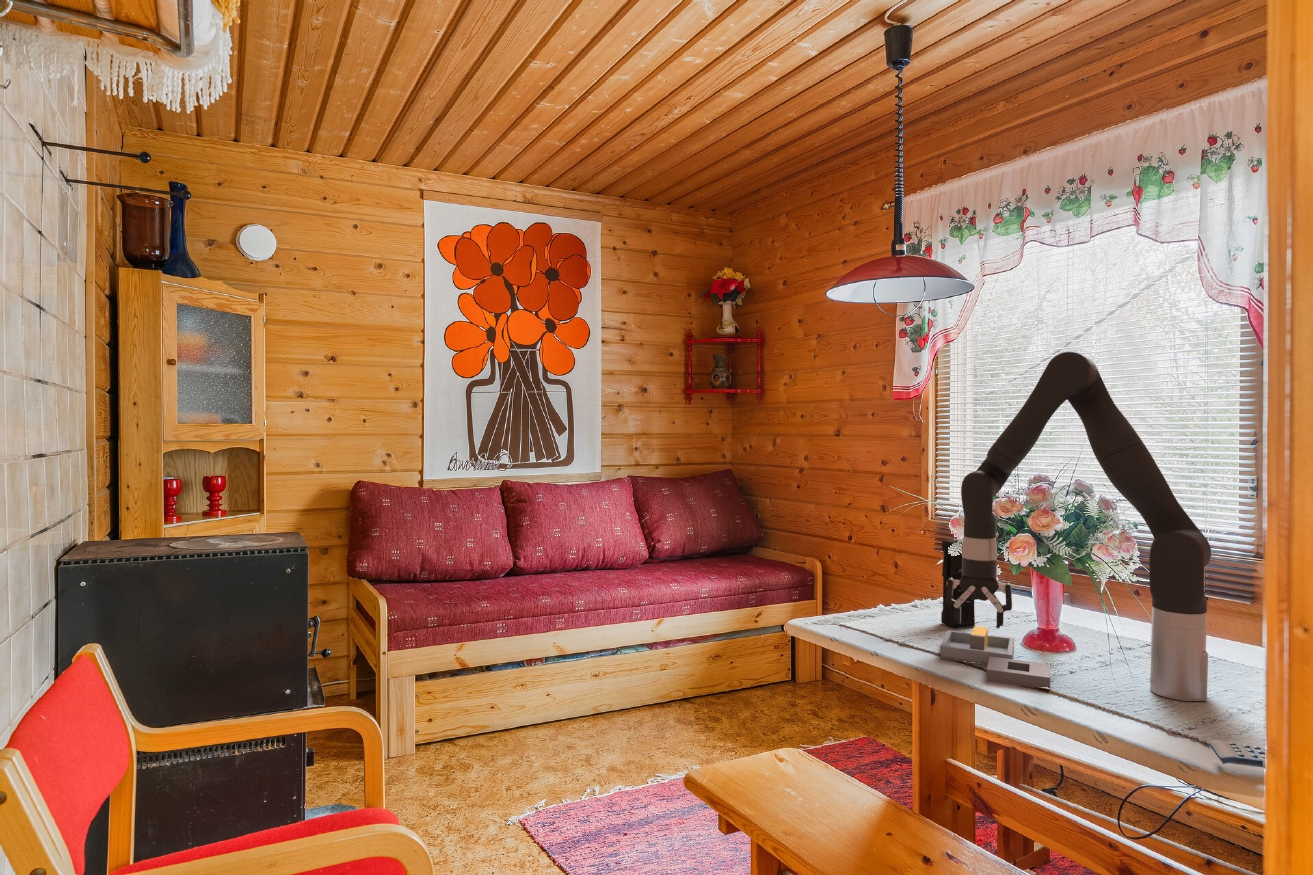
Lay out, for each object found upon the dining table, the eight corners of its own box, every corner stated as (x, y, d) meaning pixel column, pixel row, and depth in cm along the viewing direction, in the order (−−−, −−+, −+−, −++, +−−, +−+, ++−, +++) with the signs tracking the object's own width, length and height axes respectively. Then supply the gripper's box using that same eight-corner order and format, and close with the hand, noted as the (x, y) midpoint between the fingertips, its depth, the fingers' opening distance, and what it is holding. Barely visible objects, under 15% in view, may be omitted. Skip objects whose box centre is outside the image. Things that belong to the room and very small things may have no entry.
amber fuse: (988, 627, 189) (984, 637, 182) (987, 646, 190) (983, 656, 182) (974, 626, 191) (970, 635, 183) (974, 644, 191) (969, 654, 183)
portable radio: (950, 629, 207) (952, 534, 207) (936, 623, 213) (938, 530, 212) (976, 627, 209) (978, 533, 209) (962, 621, 215) (963, 529, 215)
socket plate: (1049, 675, 171) (1049, 663, 171) (1049, 689, 162) (1050, 677, 162) (989, 667, 176) (989, 656, 176) (986, 680, 167) (986, 669, 167)
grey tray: (1014, 650, 189) (1014, 637, 189) (1011, 668, 176) (1011, 654, 176) (947, 642, 196) (947, 630, 196) (940, 658, 182) (940, 646, 182)
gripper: (1013, 556, 185) (1012, 625, 186) (948, 551, 192) (947, 618, 192) (1012, 561, 179) (1011, 633, 179) (945, 556, 185) (944, 625, 185)
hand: (978, 625), depth 186 cm, fingers open, 8 cm apart
